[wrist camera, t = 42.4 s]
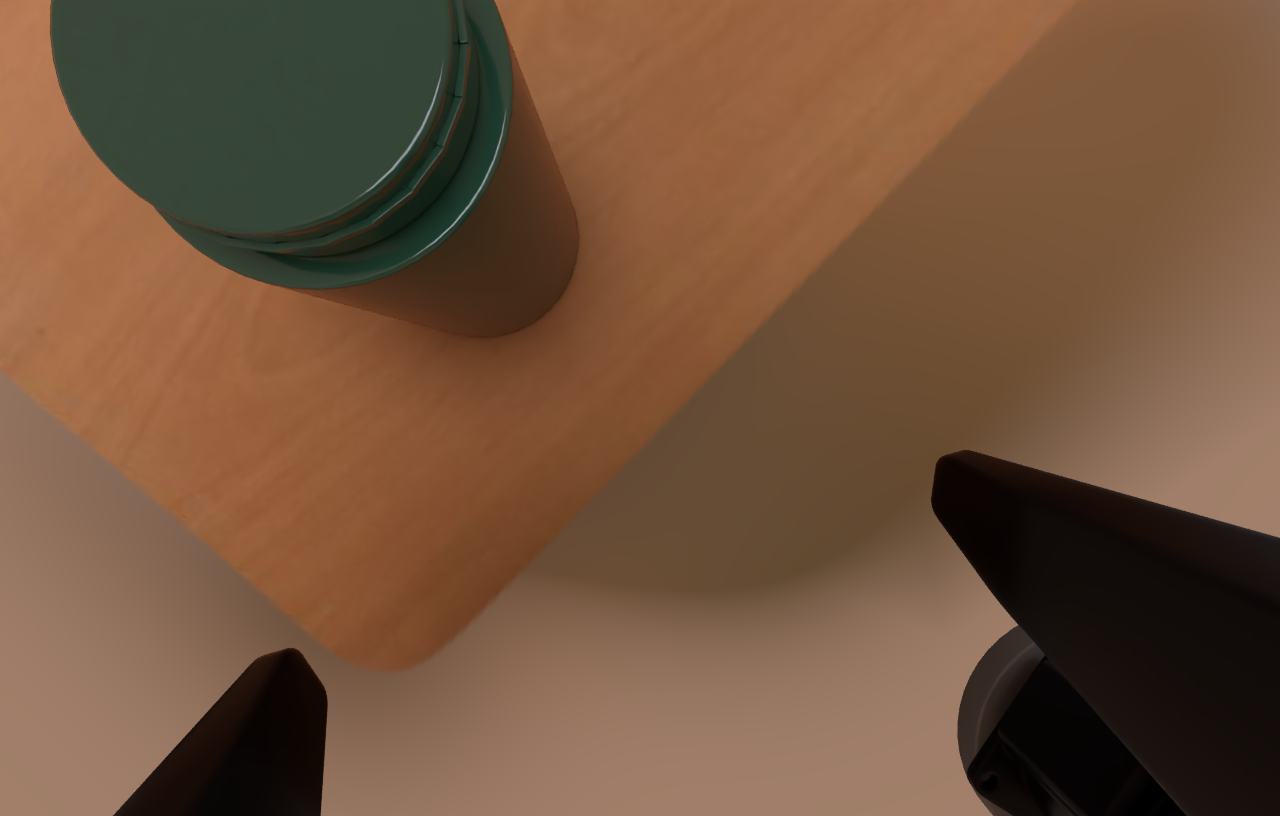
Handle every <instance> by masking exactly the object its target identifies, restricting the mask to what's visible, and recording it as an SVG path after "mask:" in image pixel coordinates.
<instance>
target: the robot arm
mask: <svg viewBox="0 0 1280 816" xmlns="http://www.w3.org/2000/svg"><path fill="white" fill-rule="evenodd" d="M931 503H932V508H933V511H934V513H935V515H936V516H937V518H938V520H939V521H940V522H941V524H942V525H943V526H944V528H945V529H946V530H947V532H948V533H949V535H950V536H951V537H952V539H953V540H954V542H955V543H956V544H957V546H958V547H959V548H960V550H961V551H962V553H963V554H964V555H965V557H966V558H967V559H968V561H969V562H970V563H971V565H972V566H973V568H974V569H975V570H976V572H977V573H978V574H979V576H980V577H981V579H982V580H983V581H984V583H985V584H986V586H987V587H988V588H989V590H990V591H991V592H992V594H993V595H994V596H995V597H996V599H997V600H998V601H999V602H1000V604H1001V605H1002V606H1003V607H1004V608H1005V610H1006V611H1007V612H1008V613H1009V614H1010V616H1011V617H1012V618H1013V619H1014V620H1015V621H1016V623H1017V624H1018V625H1019V626H1020V627H1021V628H1022V629H1023V630H1024V632H1025V633H1026V634H1027V635H1028V636H1029V637H1030V638H1031V640H1032V641H1033V642H1034V643H1035V644H1036V645H1037V646H1038V647H1039V649H1040V650H1041V651H1042V652H1043V653H1044V654H1045V655H1044V657H1043V658H1042V660H1041V661H1040V663H1039V664H1038V666H1037V667H1036V669H1035V670H1034V671H1033V673H1032V674H1031V676H1030V677H1029V679H1028V680H1027V682H1026V683H1025V685H1024V686H1023V687H1022V689H1021V690H1020V692H1019V693H1018V695H1017V696H1016V698H1015V699H1014V701H1013V702H1012V704H1011V705H1010V706H1009V708H1008V709H1007V711H1006V712H1005V714H1004V715H1003V717H1002V718H1001V720H1000V721H999V723H998V724H997V725H996V727H995V728H994V730H993V731H992V733H991V734H990V736H989V737H988V739H987V740H986V742H985V743H984V744H983V746H982V747H981V749H980V750H979V752H978V753H977V755H976V756H975V758H974V759H973V760H972V762H971V763H970V765H969V767H968V769H967V778H968V780H969V782H970V784H971V785H972V786H973V787H974V789H975V790H976V791H977V792H978V793H979V794H980V795H981V796H982V797H984V798H986V799H987V800H989V801H990V802H992V803H993V804H995V805H997V806H998V807H1000V808H1001V809H1003V810H1004V811H1006V812H1008V813H1009V814H1011V815H1012V816H1280V538H1278V537H1274V536H1271V535H1268V534H1264V533H1260V532H1257V531H1253V530H1250V529H1246V528H1242V527H1239V526H1236V525H1232V524H1229V523H1225V522H1221V521H1218V520H1214V519H1211V518H1207V517H1204V516H1200V515H1197V514H1193V513H1190V512H1186V511H1183V510H1179V509H1176V508H1172V507H1168V506H1165V505H1161V504H1158V503H1154V502H1151V501H1147V500H1144V499H1140V498H1137V497H1133V496H1129V495H1126V494H1122V493H1119V492H1115V491H1112V490H1108V489H1104V488H1101V487H1098V486H1094V485H1091V484H1087V483H1083V482H1080V481H1076V480H1073V479H1069V478H1066V477H1062V476H1059V475H1055V474H1052V473H1048V472H1044V471H1041V470H1038V469H1034V468H1030V467H1027V466H1023V465H1020V464H1016V463H1013V462H1009V461H1005V460H1002V459H998V458H995V457H992V456H988V455H984V454H981V453H977V452H973V451H970V450H962V451H958V452H955V453H952V454H948V455H945V456H942V457H941V458H940V459H939V460H938V461H937V463H936V468H935V475H934V482H933V489H932V496H931ZM327 703H328V702H327V695H326V691H325V688H324V686H323V684H322V683H321V681H320V680H319V678H318V677H317V675H316V674H315V672H314V671H313V669H312V668H311V666H310V665H309V664H308V662H307V661H306V659H305V658H304V656H303V655H302V654H301V653H300V651H299V650H297V649H295V648H287V649H283V650H281V651H277V652H273V653H270V654H266V655H263V656H261V657H259V658H257V659H256V660H255V661H254V662H253V663H252V664H251V665H250V666H249V667H248V668H247V669H246V670H245V671H244V672H243V673H242V675H241V676H240V677H239V678H238V679H237V680H236V681H235V682H234V683H233V684H232V686H231V687H230V688H229V689H228V690H227V691H226V692H225V693H224V694H223V695H222V697H221V698H220V699H219V700H218V701H217V702H216V703H215V704H214V705H213V706H212V707H211V709H210V710H209V711H208V712H207V713H206V714H205V715H204V716H203V717H202V718H201V720H200V721H199V722H198V723H197V724H196V725H195V726H194V728H192V730H191V731H190V732H189V733H188V734H187V735H186V736H185V737H184V738H183V739H182V740H181V742H180V743H179V744H178V745H177V746H176V747H175V748H174V749H173V750H172V751H171V753H170V754H169V755H168V756H167V757H166V758H165V759H164V760H163V761H162V763H161V764H160V765H159V766H158V767H157V768H156V769H155V770H154V771H153V772H152V773H151V775H150V776H149V777H148V778H147V779H146V780H145V781H144V782H143V783H142V784H141V786H140V787H139V788H138V789H137V790H136V791H135V792H134V793H133V794H132V796H131V797H130V798H129V799H128V800H127V801H126V802H125V803H124V804H123V805H122V806H121V808H120V809H119V810H118V811H117V812H116V813H115V814H114V815H113V816H321V815H320V814H321V801H322V785H323V770H324V755H325V738H326V722H327V705H328V704H327ZM989 774H991V775H990V778H989V779H988V780H987V781H983V778H984V777H985V776H986V775H989ZM982 781H983V782H982Z"/></svg>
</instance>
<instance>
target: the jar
mask: <svg viewBox="0 0 1280 816" xmlns="http://www.w3.org/2000/svg"><path fill="white" fill-rule="evenodd" d="M50 37H51V46H52V54H53V61H54V65H55V69H56V74H57V78H58V82H59V86H60V88H61V91H62V94H63V96H64V99H65V101H66V104H67V107H68V109H69V112H70V113H71V115H72V117H73V119H74V121H75V123H76V125H77V127H78V128H79V130H80V132H81V134H82V136H83V137H84V138H85V140H86V141H87V143H88V144H89V145H90V147H91V148H92V150H93V151H94V152H95V154H96V155H97V157H98V158H99V159H100V160H101V161H102V162H103V163H104V164H105V165H106V166H107V167H108V169H109V170H110V171H111V172H112V173H113V174H114V175H115V176H116V177H117V178H118V179H119V180H120V181H121V182H122V183H123V184H125V185H126V186H127V187H128V188H129V189H131V190H132V191H133V192H134V193H135V194H137V195H138V196H139V197H140V198H142V199H144V200H145V201H147V202H148V203H150V204H151V205H152V206H154V208H155V209H156V211H157V212H158V213H159V214H160V215H161V216H162V217H163V218H164V219H165V221H166V222H167V223H168V224H169V225H170V226H171V227H172V228H173V229H174V230H175V231H176V232H177V233H178V234H179V235H180V236H181V237H182V238H183V239H185V240H186V241H187V242H188V243H189V244H191V245H192V246H193V247H194V248H195V249H197V250H198V251H199V252H201V253H202V254H204V255H206V256H207V257H209V258H210V259H212V260H213V261H215V262H216V263H218V264H219V265H221V266H224V267H226V268H228V269H230V270H232V271H234V272H236V273H238V274H240V275H243V276H245V277H248V278H251V279H254V280H257V281H261V282H264V283H267V284H270V285H274V286H277V287H281V288H285V289H288V290H292V291H296V292H300V293H303V294H307V295H311V296H314V297H318V298H322V299H325V300H329V301H333V302H336V303H340V304H344V305H347V306H351V307H355V308H359V309H362V310H366V311H370V312H373V313H377V314H381V315H384V316H388V317H392V318H395V319H399V320H403V321H407V322H410V323H414V324H418V325H421V326H425V327H429V328H432V329H436V330H440V331H443V332H447V333H451V334H454V335H459V336H465V337H473V338H488V337H497V336H501V335H506V334H509V333H512V332H515V331H518V330H520V329H522V328H524V327H526V326H528V325H530V324H531V323H533V322H534V321H536V320H537V319H539V318H540V317H541V316H543V315H544V314H545V313H546V312H547V311H548V310H549V309H550V308H551V307H552V306H553V305H554V304H555V302H556V301H557V300H558V299H559V298H560V296H561V294H562V293H563V291H564V290H565V288H566V286H567V284H568V282H569V280H570V278H571V276H572V273H573V270H574V266H575V263H576V258H577V252H578V238H579V236H578V224H577V219H576V214H575V210H574V207H573V205H572V202H571V199H570V196H569V194H568V191H567V188H566V186H565V183H564V180H563V178H562V175H561V173H560V170H559V167H558V165H557V162H556V160H555V157H554V154H553V152H552V149H551V146H550V144H549V141H548V139H547V136H546V133H545V131H544V128H543V126H542V123H541V120H540V118H539V115H538V112H537V110H536V107H535V105H534V102H533V99H532V97H531V94H530V92H529V89H528V86H527V84H526V81H525V78H524V76H523V73H522V71H521V68H520V65H519V63H518V60H517V57H516V55H515V52H514V50H513V47H512V44H511V42H510V39H509V37H508V34H507V31H506V29H505V26H504V23H503V21H502V18H501V16H500V13H499V10H498V8H497V5H496V3H495V1H494V0H51V5H50Z"/></svg>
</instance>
